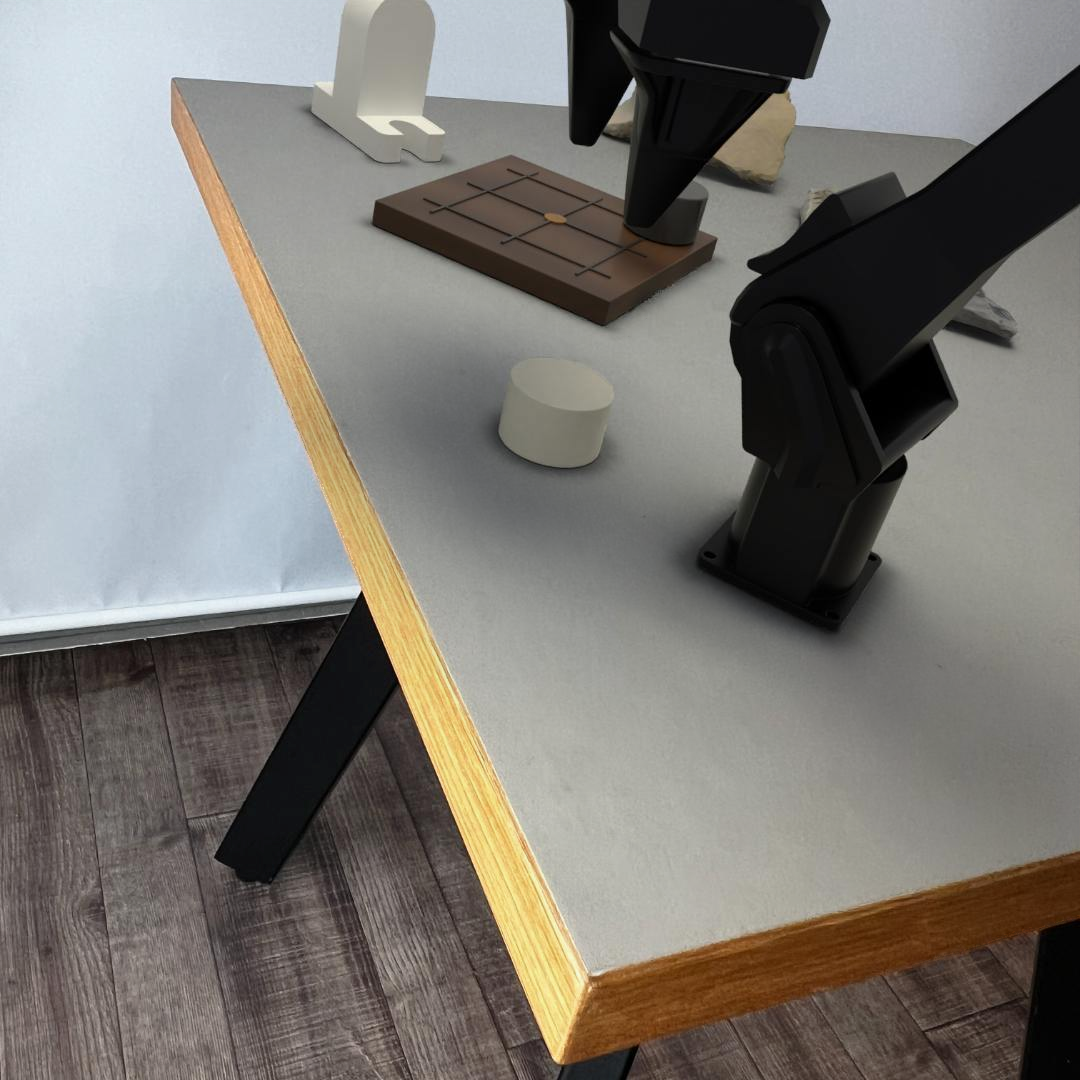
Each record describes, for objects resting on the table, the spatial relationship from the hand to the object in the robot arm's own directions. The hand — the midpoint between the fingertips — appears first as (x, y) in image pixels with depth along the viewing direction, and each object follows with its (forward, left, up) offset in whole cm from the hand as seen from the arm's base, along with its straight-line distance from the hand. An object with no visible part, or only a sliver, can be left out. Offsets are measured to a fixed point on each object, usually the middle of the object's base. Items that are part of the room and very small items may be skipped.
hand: (606, 182), depth 51 cm
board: (+21, +12, -12) cm, 27 cm away
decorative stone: (+48, +13, -12) cm, 51 cm away
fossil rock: (+41, -6, -12) cm, 43 cm away
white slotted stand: (+27, +29, -12) cm, 41 cm away
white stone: (0, 0, -12) cm, 12 cm away
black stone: (+26, +7, -11) cm, 29 cm away
